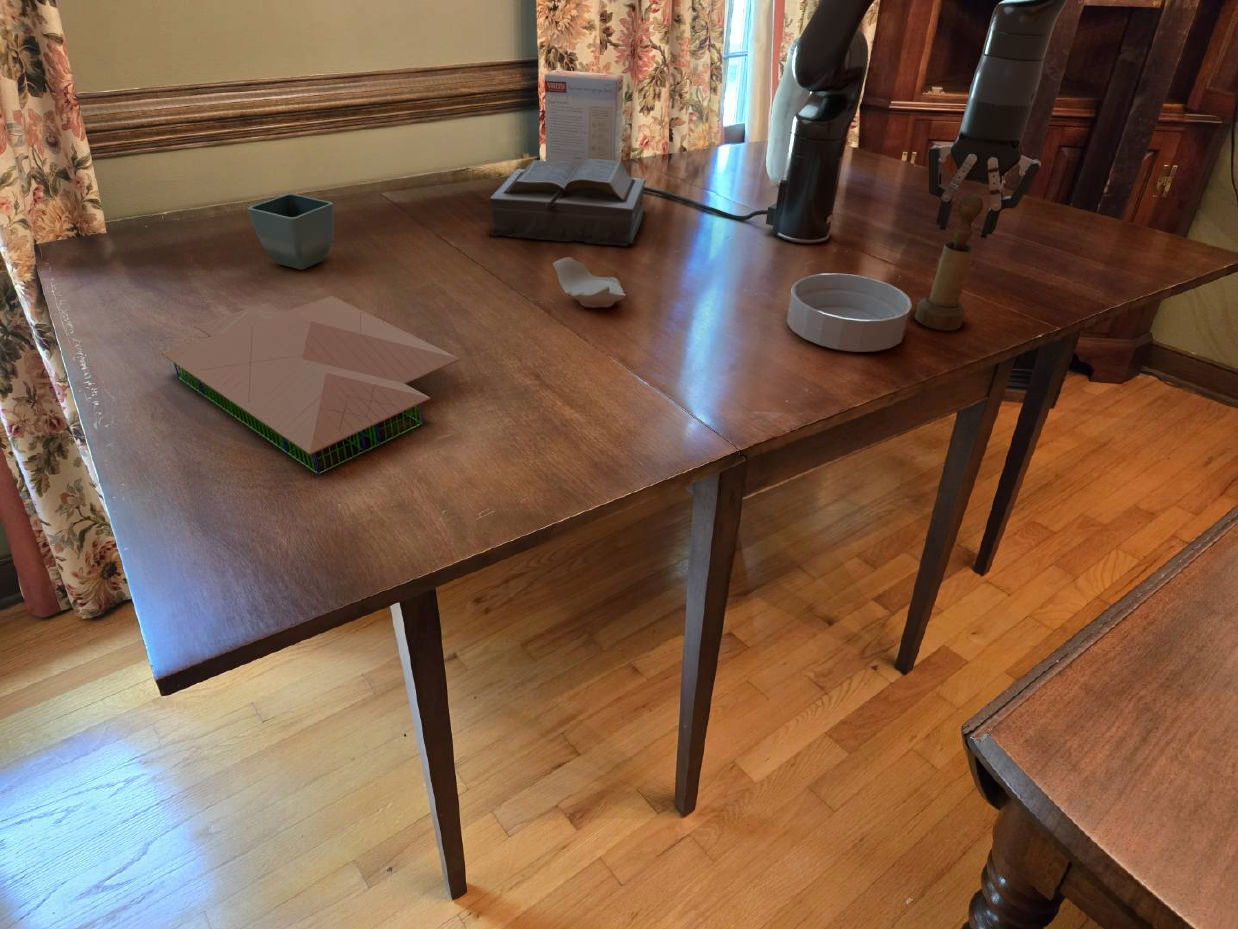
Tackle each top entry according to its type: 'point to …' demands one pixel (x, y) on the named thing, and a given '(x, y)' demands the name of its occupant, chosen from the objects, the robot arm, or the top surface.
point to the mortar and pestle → (951, 273)
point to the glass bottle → (783, 119)
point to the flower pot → (294, 229)
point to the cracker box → (583, 116)
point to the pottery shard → (587, 284)
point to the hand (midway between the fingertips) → (963, 231)
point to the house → (310, 372)
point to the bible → (570, 203)
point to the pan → (848, 312)
